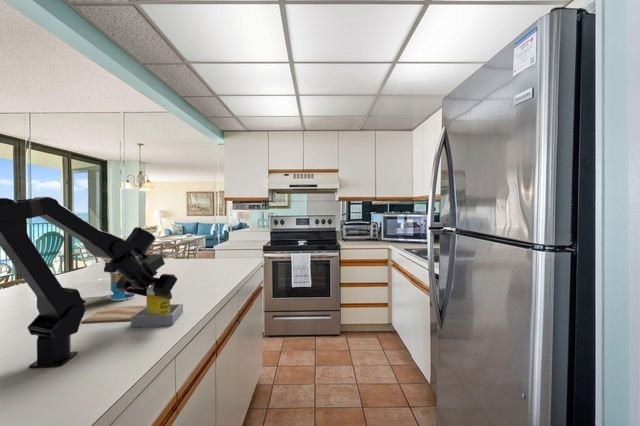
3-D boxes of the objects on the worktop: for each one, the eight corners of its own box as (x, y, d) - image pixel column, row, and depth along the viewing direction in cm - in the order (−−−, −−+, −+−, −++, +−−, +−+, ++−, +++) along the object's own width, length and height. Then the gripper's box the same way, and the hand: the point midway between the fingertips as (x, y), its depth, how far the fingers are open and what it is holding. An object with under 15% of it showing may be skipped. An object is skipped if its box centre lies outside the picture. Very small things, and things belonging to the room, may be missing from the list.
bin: (172, 324, 97) (172, 314, 97) (130, 327, 95) (130, 316, 95) (182, 312, 108) (182, 303, 108) (145, 314, 106) (145, 305, 106)
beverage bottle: (107, 298, 126) (107, 246, 126) (132, 294, 132) (132, 245, 131) (112, 302, 120) (111, 248, 120) (137, 298, 125) (137, 247, 125)
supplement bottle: (160, 324, 97) (160, 281, 97) (141, 322, 99) (141, 280, 99) (174, 316, 104) (174, 276, 104) (156, 315, 105) (156, 276, 105)
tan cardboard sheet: (131, 320, 100) (131, 318, 100) (81, 323, 98) (81, 321, 98) (147, 307, 114) (147, 305, 114) (104, 309, 112) (104, 307, 112)
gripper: (172, 247, 94) (198, 277, 105) (124, 245, 101) (153, 274, 111) (150, 280, 87) (180, 309, 98) (100, 275, 93) (133, 303, 104)
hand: (162, 297), depth 103 cm, fingers open, 7 cm apart
